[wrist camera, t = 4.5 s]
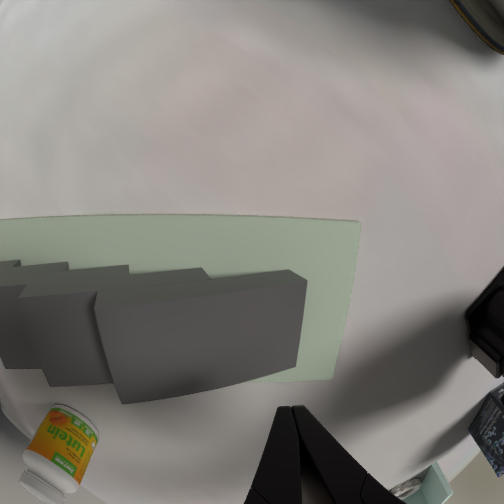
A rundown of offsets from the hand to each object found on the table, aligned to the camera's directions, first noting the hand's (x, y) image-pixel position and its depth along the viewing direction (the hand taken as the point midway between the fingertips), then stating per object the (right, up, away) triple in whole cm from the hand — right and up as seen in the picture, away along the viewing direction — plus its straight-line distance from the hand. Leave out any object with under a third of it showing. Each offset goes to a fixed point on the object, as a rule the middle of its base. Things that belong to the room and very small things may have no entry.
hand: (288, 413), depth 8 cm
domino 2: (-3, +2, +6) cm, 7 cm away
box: (+30, -15, +13) cm, 36 cm away
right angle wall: (+22, -33, +19) cm, 43 cm away
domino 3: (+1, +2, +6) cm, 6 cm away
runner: (-11, +2, +7) cm, 13 cm away
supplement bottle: (-18, -11, +11) cm, 23 cm away
